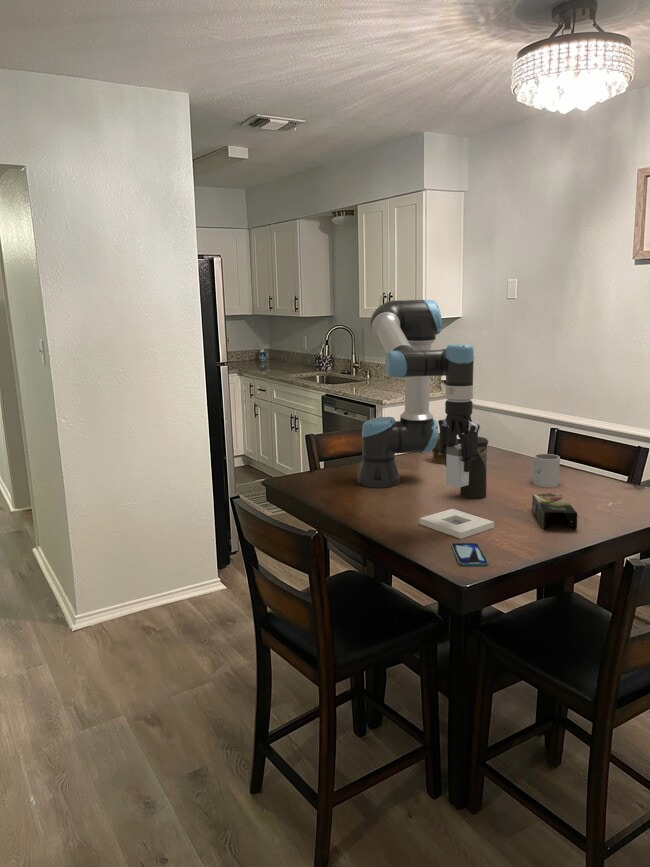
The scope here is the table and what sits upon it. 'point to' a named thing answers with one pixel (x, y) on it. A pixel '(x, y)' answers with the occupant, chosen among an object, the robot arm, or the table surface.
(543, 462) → the mug
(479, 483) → the container
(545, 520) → the juice carton
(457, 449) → the plug
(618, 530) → the table surface
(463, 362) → the robot arm
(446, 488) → the table surface
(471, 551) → the smartphone
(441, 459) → the brown rounded lump
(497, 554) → the table surface
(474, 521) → the socket
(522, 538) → the table surface
